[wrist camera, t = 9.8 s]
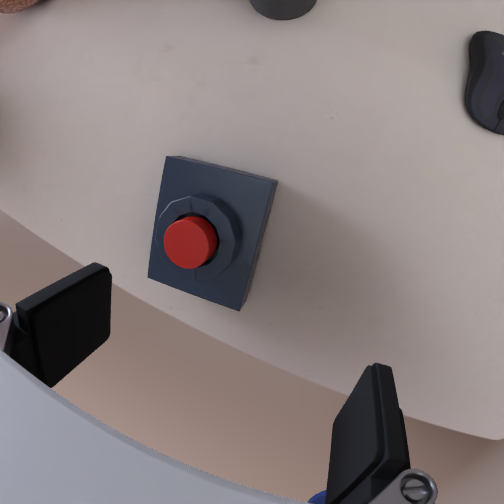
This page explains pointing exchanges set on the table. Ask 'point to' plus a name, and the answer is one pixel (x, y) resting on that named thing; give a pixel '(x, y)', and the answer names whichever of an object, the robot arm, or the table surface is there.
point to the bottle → (282, 8)
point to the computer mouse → (487, 81)
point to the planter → (15, 5)
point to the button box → (222, 220)
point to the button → (190, 242)
